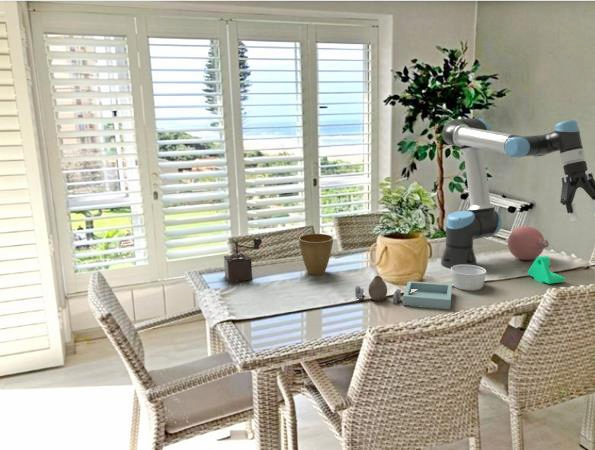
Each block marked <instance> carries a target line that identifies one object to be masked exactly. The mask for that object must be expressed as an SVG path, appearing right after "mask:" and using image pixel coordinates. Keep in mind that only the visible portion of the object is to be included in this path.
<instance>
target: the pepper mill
mask: <svg viewBox="0 0 595 450" xmlns="http://www.w3.org/2000/svg"><path fill="white" fill-rule="evenodd" d="M252 241H253V246H250V245H240V244H238V243H239V242H238V240H235V241H234V243H235V244H234V246H235V252H234V253H231V254H230V255H224V256H223V265H224V267H223V268H224V277H225V279H226V278H227V279H226V281H227V280H228V281H229V282H234V283H237V282H236V281H242V282H246V281H245V280H247V281H251V279H252V280H253V272H252V271H253V267H252V258H251V257H250V256H249V255H248V254H247V253H242V252H239V248H245V249H252V250H259V249H260V245H261V244H262V242H263V240H262V239H261V237H254V238H253V239H252ZM228 281H227V282H228ZM229 282H228V283H229Z"/></svg>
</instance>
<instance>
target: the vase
mask: <svg viewBox="0 0 595 450" xmlns="http://www.w3.org/2000/svg"><path fill="white" fill-rule="evenodd" d="M387 295H388V286H387V284H386V282H385V280H383V278H382V276H381V275H376V276H374V277H373V279H372V280H371V282H370V283H369V285H368V296H369V297H370V299H372V300H373V301H376V302H380V301H383V300H384V299H385V298H386V297H387Z"/></svg>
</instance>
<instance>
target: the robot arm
mask: <svg viewBox="0 0 595 450" xmlns="http://www.w3.org/2000/svg"><path fill="white" fill-rule="evenodd" d="M441 132H442V133H441V134H442V135H441V136H442V139H443V141H444V142H445V143H446V144H448V145H449V146H452V147H453V146H454V147H455V146H456V147H458V148H459V151H460V152H461V153H463V158H464V166H465V176H466V181H467V183H466V184H467V189H468V196H469V207H468V208H467V210H461V211H459V210H458V211H454V212H451V213H449V214H448V215H447V217H446V222H445V247H444V250H443V252H442V256H441V259H440V264H441V265H442V266H443V267H446V268H450V269H451V267H453V266H456V265H475V266H477V257H476V254H475V251H474V240H478V239H483V238H491V237H493V236H495V235H497V234H498V233H499V232H500V231H501V229H502V225H503V220H502V219H503V218H502V217H501V214H499V212H498V211H497V210H496V209H495V206H494V205H493V204H491V199H490V198H491V197H490V191H489V183H488V175H487V173H488V172H487V167H486V166H487V165H486V158H485V150H487V151H491V152H497V153H501V154H506V155H508V156H509V157H510V158H525V157H531V156H532V157H535V158H539V157H544V156H546V155H548V154H552V153H554V152H555V153H556V152H557V151H559V153H560V159H561V162H562V163H561V164H562V165H563V166H562V168H563V172H564V175H565V176H564V177H562V178H561V183H562V184H561V185H562V186H561V193H560V204H561V205H563V206H565V207H566V212H567V214H568V218H569V222H570V223H575V222H579V218H578V213H577V208H576V206H575V205H576V204H575V203H574V198H575V196H576V192H577V190H578V189H579V188H580V189H582V190H583V191H584V192H585V193H586V194H587V195H588V196H589V197H590V198H591V200H590V203H591V204H590V205H591V208H592V212H593V216H594V217H593V218H595V179H594V175H593V173H591V172H589V173H586V172H587V171H588V165H587V161H586V156H585V152H584V147H583V142H582V139H581V131H580V129H579V126H578V122H577V120H574V119H570V120H564V121H560V122H559V123H556V124H555V125H554V130H553V131H551V132H549V133H544V134H538V135H524V136H522V135H516V134H511V133H504V132H500V131H499V132H498V131H493V130H491V127H490V124H489V123H488V122H487V121H486V120H484V119H483V118H481V117H480V118H479V117H478V118H477V117H471V118H456V119H452V120H449V121H448V122H447V123H446V124H445V125H444V126H443V128H442V131H441Z"/></svg>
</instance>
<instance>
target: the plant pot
mask: <svg viewBox="0 0 595 450" xmlns="http://www.w3.org/2000/svg"><path fill="white" fill-rule="evenodd" d="M298 242H299V248H300V252H301V257H302V261H303V263H304V265H305V269H306V271H307V274H309V275H311V276H321V274H322V275H324V274H325V272H326V270H327V268H328V264H329V262H330V259H331V253H332V250H333V249H332V248H333V243H334V236H332V235H330V234H325V233H307V234H303V235H300V236H299V237H298Z"/></svg>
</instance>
